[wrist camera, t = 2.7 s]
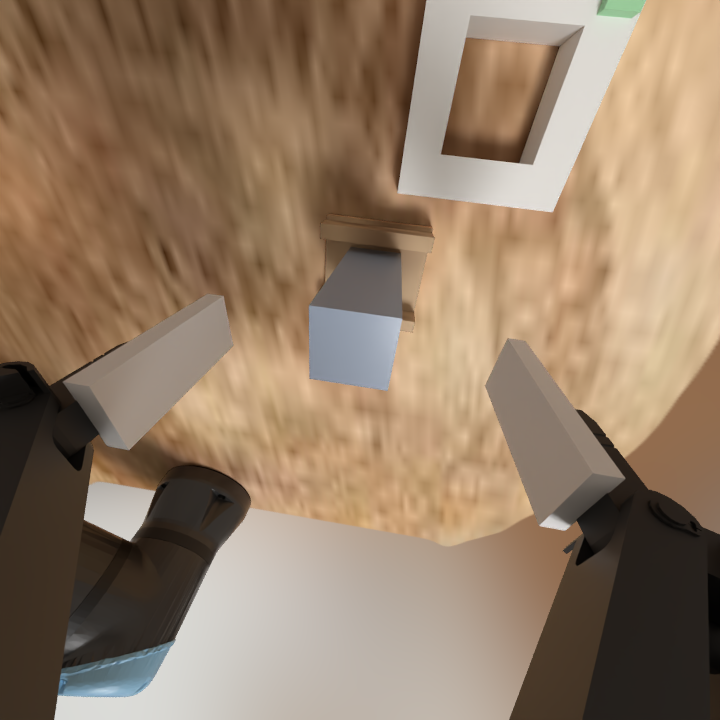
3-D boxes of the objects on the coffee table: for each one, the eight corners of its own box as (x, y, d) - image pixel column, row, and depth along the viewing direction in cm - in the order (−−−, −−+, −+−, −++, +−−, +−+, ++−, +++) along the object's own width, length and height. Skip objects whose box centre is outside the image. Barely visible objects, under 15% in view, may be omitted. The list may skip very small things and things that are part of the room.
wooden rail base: (326, 308, 26) (318, 322, 23) (329, 213, 21) (320, 218, 19) (410, 320, 25) (411, 335, 23) (431, 226, 21) (436, 233, 18)
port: (397, 191, 20) (397, 193, 17) (431, -32, 14) (438, -77, 12) (536, 208, 19) (556, 213, 17) (627, -15, 14) (679, -59, 11)
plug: (347, 294, 24) (309, 378, 14) (350, 246, 21) (309, 305, 12) (392, 301, 24) (387, 390, 14) (401, 253, 21) (402, 318, 11)
